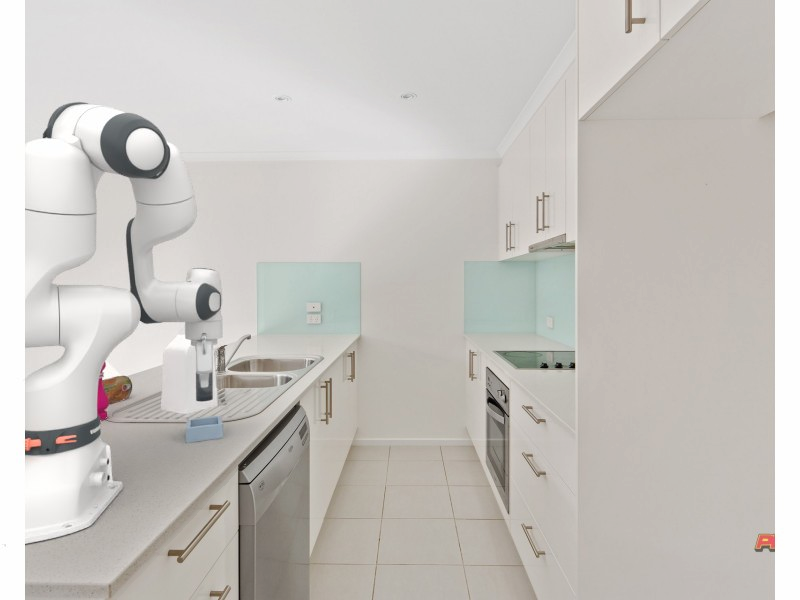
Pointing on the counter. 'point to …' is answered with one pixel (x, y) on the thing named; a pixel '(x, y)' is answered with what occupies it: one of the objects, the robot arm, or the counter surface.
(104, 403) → the pepper mill
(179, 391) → the milk
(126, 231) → the robot arm
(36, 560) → the counter surface
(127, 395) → the tin
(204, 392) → the cell
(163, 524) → the counter surface
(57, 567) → the counter surface
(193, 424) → the light blue square tray
